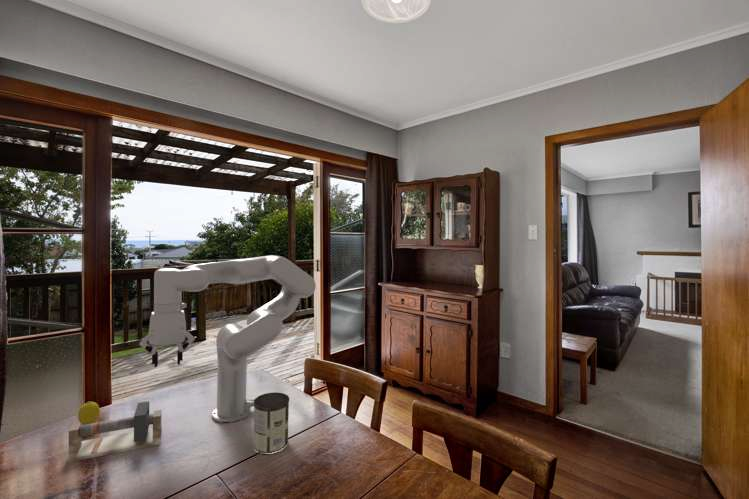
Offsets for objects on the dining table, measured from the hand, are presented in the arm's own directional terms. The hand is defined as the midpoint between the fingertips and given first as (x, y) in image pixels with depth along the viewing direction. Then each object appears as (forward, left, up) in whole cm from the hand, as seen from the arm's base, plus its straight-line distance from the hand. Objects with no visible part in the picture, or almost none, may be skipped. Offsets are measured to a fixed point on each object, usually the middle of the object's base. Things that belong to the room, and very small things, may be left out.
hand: (167, 363), depth 116 cm
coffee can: (-28, +21, -22) cm, 41 cm away
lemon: (+23, -12, -22) cm, 34 cm away
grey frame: (+7, +3, -19) cm, 21 cm away
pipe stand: (+13, +3, -22) cm, 25 cm away
